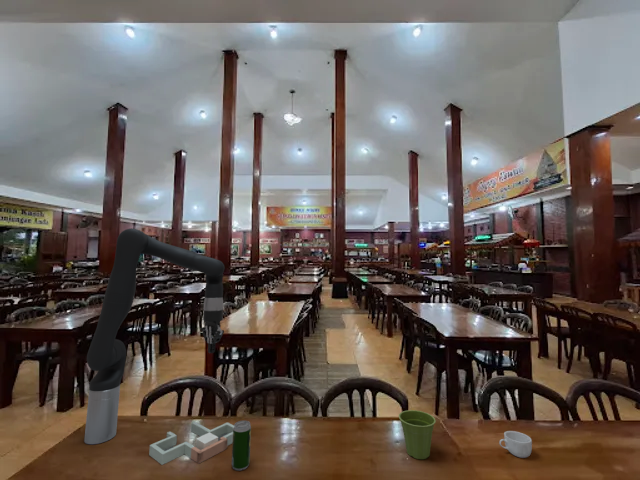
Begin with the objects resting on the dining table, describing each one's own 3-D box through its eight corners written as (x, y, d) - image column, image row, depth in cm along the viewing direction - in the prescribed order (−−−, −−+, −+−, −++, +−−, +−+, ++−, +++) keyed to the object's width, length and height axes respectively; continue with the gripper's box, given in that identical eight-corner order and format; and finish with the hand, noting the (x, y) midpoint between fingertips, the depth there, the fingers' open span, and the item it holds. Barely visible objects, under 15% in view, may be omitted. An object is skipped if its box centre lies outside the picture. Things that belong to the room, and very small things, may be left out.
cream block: (195, 453, 99) (196, 438, 100) (208, 446, 103) (209, 432, 104) (204, 458, 96) (204, 443, 97) (217, 451, 100) (218, 437, 101)
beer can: (234, 473, 89) (236, 430, 91) (229, 464, 94) (231, 422, 95) (252, 467, 92) (253, 425, 94) (246, 458, 97) (247, 418, 98)
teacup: (523, 447, 105) (522, 431, 106) (538, 461, 97) (537, 443, 98) (493, 446, 105) (492, 430, 106) (506, 460, 97) (506, 442, 98)
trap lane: (144, 451, 100) (145, 441, 100) (210, 422, 120) (211, 414, 120) (176, 475, 88) (176, 464, 88) (244, 439, 108) (244, 430, 108)
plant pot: (421, 441, 108) (420, 407, 109) (444, 460, 97) (443, 423, 98) (392, 446, 104) (391, 412, 106) (413, 467, 93) (412, 428, 94)
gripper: (196, 308, 125) (193, 351, 123) (214, 310, 117) (212, 357, 115) (212, 306, 131) (210, 348, 129) (231, 309, 123) (229, 353, 121)
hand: (211, 352), depth 122 cm, fingers closed
